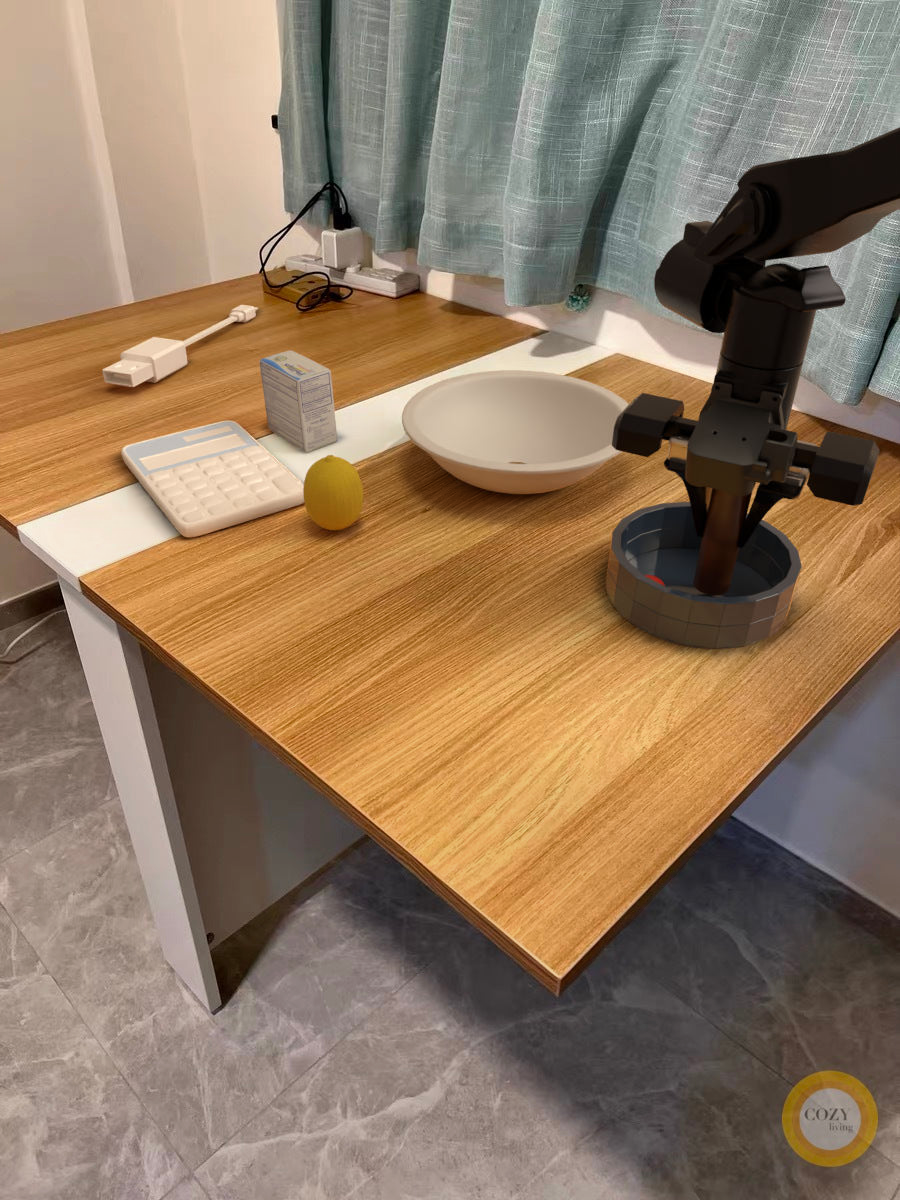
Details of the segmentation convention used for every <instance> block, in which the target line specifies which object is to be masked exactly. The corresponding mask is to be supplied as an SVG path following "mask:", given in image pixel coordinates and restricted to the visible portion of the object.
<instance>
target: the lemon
mask: <svg viewBox="0 0 900 1200" xmlns="http://www.w3.org/2000/svg"><path fill="white" fill-rule="evenodd" d="M303 484H304V488H303V493H304V503H303V504H304V506H305V510H306V512H307V514H308V515H309V518H310V519H311V520H312V521H313V522H314V523H315V524H316V525H317V526H319V527H320V528H323V529H326V530H328V531H329V530H330V531H333V532H334V531H335V532H338V531H341V530H344V529H346V528H349V527H350V526H352V525H353V524H354V523H355V522H356V521H357V520H358V519H359V517H360V515H361V513H362V510H363V507H364V496H365V493H364V487H363V483H362V480H361V477H360V475H359V473H358V470H357V469H356V467H355V466H354V465H353V464H352V463H351V462H349V461H348V460H347V459H345V458H343V457H339V456H335V455H333V454H327V455H326V456H325V457H322V458H320V459H317V460H316V461H315V462H313V464H312V465H311V466H310V467H309V468H308V470H307V472H306V475H305V477H304V482H303Z"/></svg>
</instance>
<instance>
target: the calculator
mask: <svg viewBox="0 0 900 1200" xmlns="http://www.w3.org/2000/svg"><path fill="white" fill-rule="evenodd" d="M120 450H121V452H120V453H121V457H122V458H121V459H122V460H123V462H124V464H125V465H126V467H127V469H129V470H130V472H131V473H132V475H134V477H135V478H136V479H137V481H138V482H139V484H140V485H141V486H142V487H143V488H144V489H145V491H146V492H147V494H148V495H149V496H150V497H151V498H152V500H153V502H154V503H155V504H156V505H157V506H158V508H159V509H160V510H161V512H163V514H164V515H165V516H166V517H167V519H168V521H170V523H171V525H173V526H174V528H175V529H176V530H177V532H178V533H179V534H180V535H181V536H183V537H185V538H196V537H199V536H203V535H207V534H209V533H213V532H216V531H217V532H218V531H219V530H223V529H226V528H230V527H233V526H236V525H239V524H242V523H245V522H249V521H252V520H256V519H259V518H262V517H265V516H268V515H273V514H275V513H279V512H282V511H284V510H289V509H291V508H293V507H294V508H295V507H297V506H300V505H302V504H305V503H304V493H303V488H304V482H302V481H301V480H300V479H299V478H298V477H297V476H296V475H295V474H294V473H293V472H292V471H291V470H290V469H288V468H287V467H286V466H285V464H283V463H282V462H281V461H280V460H278V458H277V457H275V456H274V454H272V453H271V452H270V451H269V450H268V449H267V448H265V447H264V445H262V444H261V443H260V442H259V441H258V440H257V439H255V437H253V435H251V434H250V433H249V431H247V430H246V429H245V428H244V427H243V426H241V425H240V424H239V423H238V422H236V421H234V420H229V419H227V420H221V421H217V422H213V423H210V424H204V425H201V426H196V427H193V428H188V429H185V430H181V431H177V432H173V433H168V434H165V435H160V436H157V437H153V438H149V439H145V440H140V441H137V442H133V443H129V444H127V445H124V446H123V447H122V448H121V449H120Z"/></svg>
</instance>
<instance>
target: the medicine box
mask: <svg viewBox="0 0 900 1200" xmlns="http://www.w3.org/2000/svg"><path fill="white" fill-rule="evenodd" d="M259 369H260V377H261V378H260V379H261V384H262V385H261V386H262V391H263V397H264V407H265V414H266V420H267V425H268V426H267V427H268V430H269V431H271V432H272V433H274V434H276V435H278V436H279V437H281V438H283V439H284V440H286V441H288V442H289V443H290V444H292V445H294V446H296V447H298V448H299V449H301V450H302V451H304V452H305V453H309V452H312V451H315V450H317V449H320V448H323V447H325V446H328V445H330V444H333V443H336V442H338V431H337V421H336V411H335V401H334V399H335V398H334V390H333V380H332V379H333V378H332V371H331V369H329V368H328V367H326V366H325V365H322V364H320V363H318V362H316V361H314V360H313V359H311V358H308V357H307V356H304V355H303V354H300V353H298V352H296V351H293V350H290V349H289V350H286V351H283V352H279V353H275V354H271V355H269V356H266V357H264V358H261V359H259Z"/></svg>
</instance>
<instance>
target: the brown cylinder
mask: <svg viewBox="0 0 900 1200" xmlns="http://www.w3.org/2000/svg"><path fill="white" fill-rule="evenodd" d="M752 495H753V491H752V492H751V493H749V494H748V495H745V496H734V495H730V494H728V493H727V492H725V491H721V490H717V489H713V488H712V493H711V498H710V502H709V507H708V512H707V517H706V522H705V527H704V532H703V537H702V541H701V546H700V551H699V556H698V561H697V565H696V570H695V575H694V580H693V584H694V587H695V588H696V589H697V590H698V591H700V592H702V593H704V594H707V595H714V596H717V595H723V594H725V593H727V592H728V590H729V588H730V584H731V580H732V576H733V571H734V567H735V563H736V559H737V554H738V550H739V547H738V542H739V537H740V533H741V530H742V528H743V525H744V523H745V520H746V517H747V513H749V509H750V508H749V507H750V503H751V500H752Z"/></svg>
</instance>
